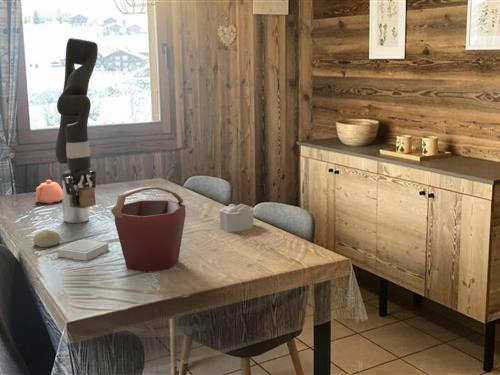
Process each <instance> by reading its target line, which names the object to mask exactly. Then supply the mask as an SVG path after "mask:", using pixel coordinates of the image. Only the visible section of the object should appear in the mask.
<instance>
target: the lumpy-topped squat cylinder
mask: <svg viewBox="0 0 500 375" xmlns="http://www.w3.org/2000/svg"><path fill="white" fill-rule="evenodd" d="M253 227H254V208H253V206H249V205H248V204H247V205H246V204H244V203H240V204H238V205H237V204H236V203H235V204H234V203H231V204H229V205H228V206H224V207H222V208H220V209H219V228H220V229H221V230H223V231H225V232H228V233H236V232H238V233H239V232H242V231H248V230H251V229H253Z"/></svg>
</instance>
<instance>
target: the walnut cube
mask: <svg viewBox="0 0 500 375" xmlns="http://www.w3.org/2000/svg"><path fill="white" fill-rule="evenodd" d="M70 191H71V189H70ZM74 191H75V192H76V189H75V190H74ZM95 191H96V190H95V188H94V187H88V186H87V187H81V189H80V190H79V194H78V195H79V203H80V206H78V207H76V206H73V203H72V195H69V200H70V207H72V208H87V207H88V208H90V207H94V206H96V204H97V202H96V192H95Z"/></svg>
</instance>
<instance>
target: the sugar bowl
mask: <svg viewBox="0 0 500 375" xmlns="http://www.w3.org/2000/svg"><path fill="white" fill-rule="evenodd" d="M35 193H36V194H35V200H36V201H37V202H39V203H45V204H48V205H50V204H53V203H58V202H61V201H62V198H64V193H63V188H62V187H61V186H60V185H59V183H58V182H56V181H52V180H51V179H45V182H42V183H40V185H39V186H37V187H35Z"/></svg>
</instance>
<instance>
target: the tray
mask: <svg viewBox="0 0 500 375" xmlns="http://www.w3.org/2000/svg"><path fill="white" fill-rule="evenodd" d="M109 250H110V248H109V242H103V241H96V240H88V239H78V240H75V241H73V242H70V243H69V244H65V245H64V246H62V247H59V248H56V251H57V257H60V258H61V257H62V258H67V259H74V260H79V261H80V260H81V261H89V260H90V259H93V258H94V257H96V256H99V255H102V254H103V253H106V252H107V251H109Z"/></svg>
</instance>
